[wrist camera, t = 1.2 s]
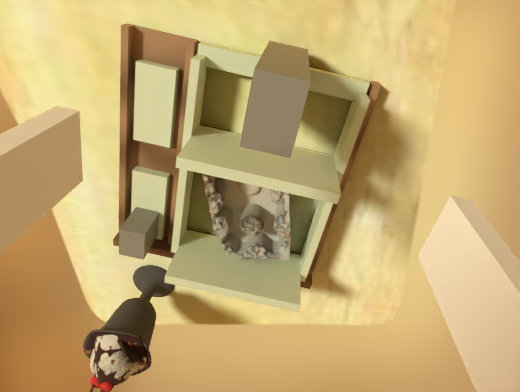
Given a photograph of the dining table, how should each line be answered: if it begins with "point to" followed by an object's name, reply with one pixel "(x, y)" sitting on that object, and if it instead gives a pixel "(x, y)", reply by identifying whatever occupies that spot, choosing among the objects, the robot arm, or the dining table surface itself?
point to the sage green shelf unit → (260, 167)
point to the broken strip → (143, 179)
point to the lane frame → (163, 158)
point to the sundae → (126, 333)
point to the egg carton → (249, 218)
